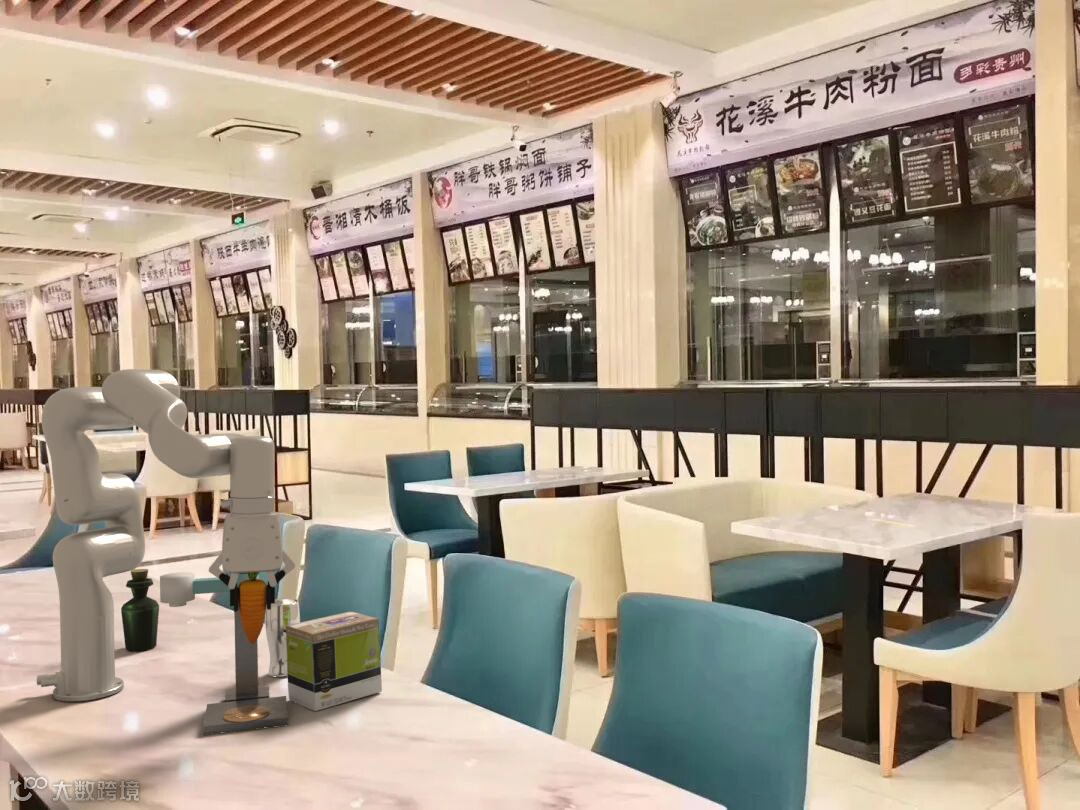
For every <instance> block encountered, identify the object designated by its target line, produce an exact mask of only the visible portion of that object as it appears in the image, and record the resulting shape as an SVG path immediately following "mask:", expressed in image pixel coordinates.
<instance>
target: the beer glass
mask: <svg viewBox="0 0 1080 810" xmlns="http://www.w3.org/2000/svg"><path fill="white" fill-rule="evenodd" d="M299 604H300V603H299V599H298V598H293V597H291V598H290V597H285V598H281V597H280V598H275V604H271V610H268V609H267V604H266V613H265V619H264V622H265V623H264V624H265V625H264V626H265V627H264V628H265V633H266V640H267V646H268V650H269V666H268V673H267V674H268V676H269V675H270V676H269V677H271V676H276V677H282V678H284V677H283V676H288V673H287V643H286V626H287V625H292V624H296V623H301V615H300V605H299ZM276 677H275V678H276Z"/></svg>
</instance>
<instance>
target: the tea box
mask: <svg viewBox="0 0 1080 810" xmlns="http://www.w3.org/2000/svg"><path fill="white" fill-rule="evenodd" d="M380 636H381V635H380V620H379V618H378V617H374V616H371V615H366V614H363V613H358V612H354V611H347V612H342V613H337V614H332V615H328V616H323V617H318V618H314V619H310V620H305V621H300V623H296V624H292V625H287V626H286V643H287V673H288V677H287V692H288V699H289V701H290V700H291V702H292V701H294V702H296V703H298V704H297V705H299V704H300V705H299V706H301V705H302V707H303V706H304V707H303V708H306V707H307V708H306V709H308V708H309V710H310V709H311V710H310V711H314V712H317V711H320V710H324V709H328V708H331V707H335V706H338V705H341V704H344V703H348V702H352V701H355V700H357V699H360V698H361V699H362V698H366V697H368V696H371V695H375V694H378V693H381V692H382V690H383V687H382V661H381V656H382V655H381V637H380ZM294 702H293V703H294ZM296 703H295V704H296Z"/></svg>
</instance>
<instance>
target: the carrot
mask: <svg viewBox="0 0 1080 810" xmlns="http://www.w3.org/2000/svg"><path fill="white" fill-rule="evenodd" d="M260 573H261V572H250V573H247V574H248V577H249V579H247V580H244V581H242V582H241V583H240V584H239V587H238V594H239V611H240V617H241V622H242V626H243V629H244V632H245V634H246V636H247V638H248V640H249V642H250V643H251V644H254V643H255V642H256V641H257V642H258V639H259V638H260V637H259V636H260V635H261V633H262V630H263V627H264V624H265V623H264V622H265V615H266V604H267V585H268V584H267V582H265V581H264V580H263V579H261V578H259V579H256V578H257V576H258V574H259V575H260ZM253 576H254V577H253Z"/></svg>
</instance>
